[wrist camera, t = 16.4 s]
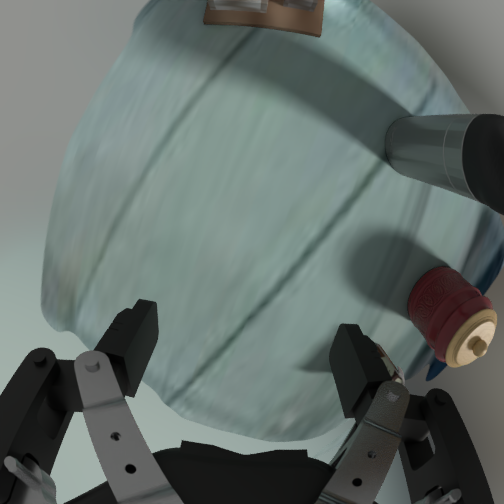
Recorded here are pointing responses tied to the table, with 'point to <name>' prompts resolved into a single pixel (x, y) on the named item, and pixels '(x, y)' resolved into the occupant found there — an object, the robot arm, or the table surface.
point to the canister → (452, 316)
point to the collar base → (268, 14)
